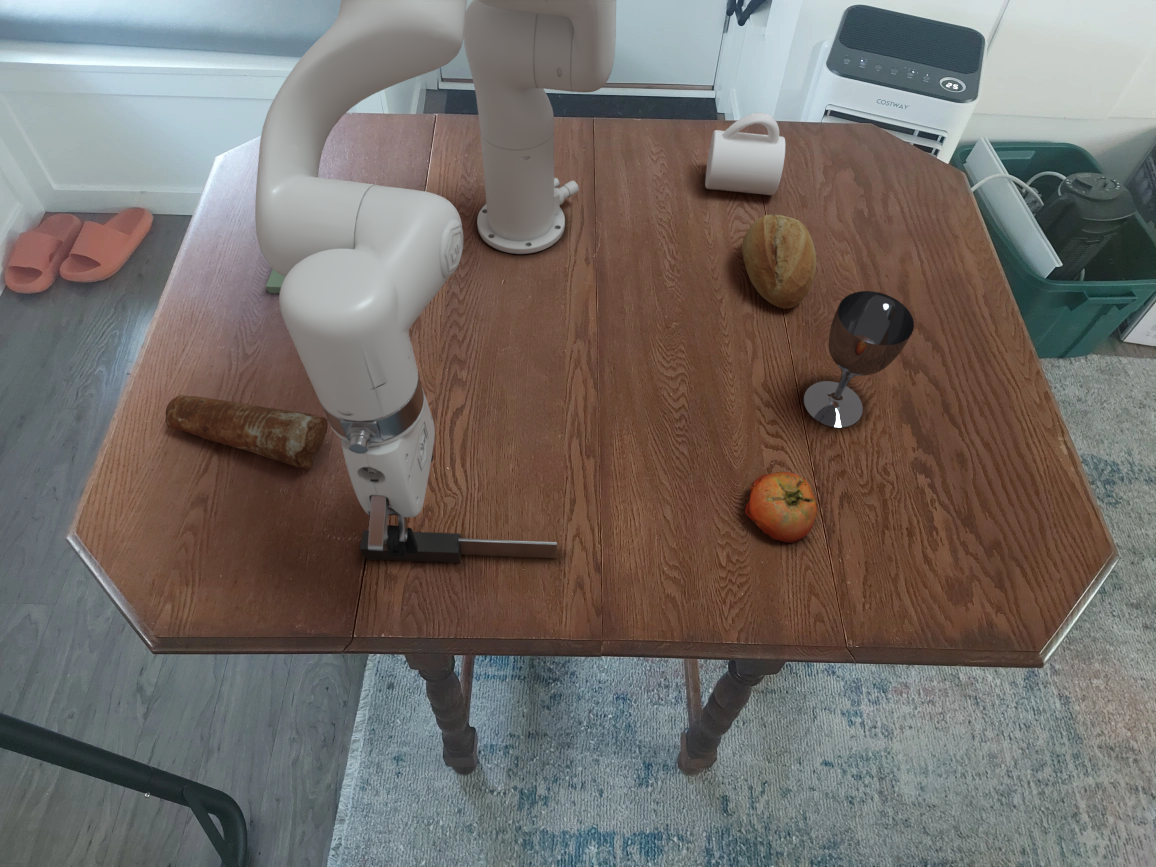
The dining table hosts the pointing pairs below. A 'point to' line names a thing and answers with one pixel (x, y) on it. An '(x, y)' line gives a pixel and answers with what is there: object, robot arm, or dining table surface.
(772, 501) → the tomato
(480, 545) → the knife
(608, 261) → the dining table surface
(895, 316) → the wine glass
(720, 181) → the mug
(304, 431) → the bread
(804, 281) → the bread roll
